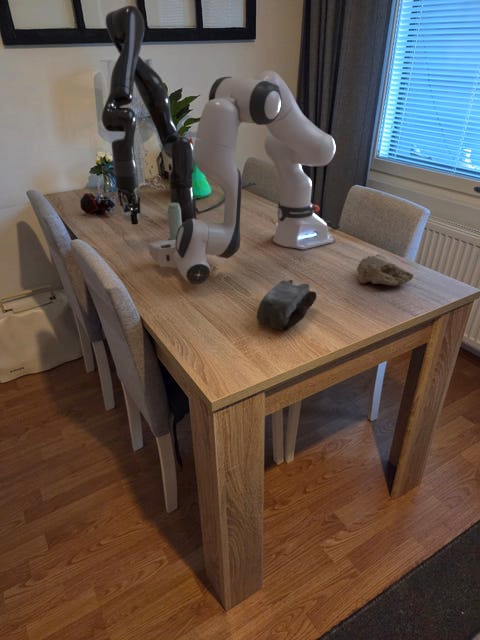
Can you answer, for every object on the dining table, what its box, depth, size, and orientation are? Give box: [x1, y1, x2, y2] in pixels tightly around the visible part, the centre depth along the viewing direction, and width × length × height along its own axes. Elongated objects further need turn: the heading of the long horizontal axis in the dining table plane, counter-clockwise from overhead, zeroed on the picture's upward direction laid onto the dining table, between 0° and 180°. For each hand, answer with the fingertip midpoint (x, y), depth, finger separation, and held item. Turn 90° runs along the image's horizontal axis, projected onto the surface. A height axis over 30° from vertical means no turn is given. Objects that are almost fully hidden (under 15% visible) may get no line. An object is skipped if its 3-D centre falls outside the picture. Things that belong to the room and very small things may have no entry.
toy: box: [79, 192, 117, 218], centre depth 189 cm, size 12×9×15 cm
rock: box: [256, 279, 317, 332], centre depth 117 cm, size 18×11×8 cm, turn 152°
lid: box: [122, 212, 139, 222], centre depth 157 cm, size 5×5×2 cm
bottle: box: [167, 202, 182, 240], centre depth 149 cm, size 4×4×18 cm
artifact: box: [356, 254, 414, 286], centre depth 138 cm, size 18×7×15 cm
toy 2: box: [168, 137, 212, 200], centre depth 210 cm, size 20×20×25 cm
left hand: (131, 221), depth 158 cm, fingers closed on lid, 5 cm apart
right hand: (175, 238), depth 151 cm, fingers closed on bottle, 4 cm apart
